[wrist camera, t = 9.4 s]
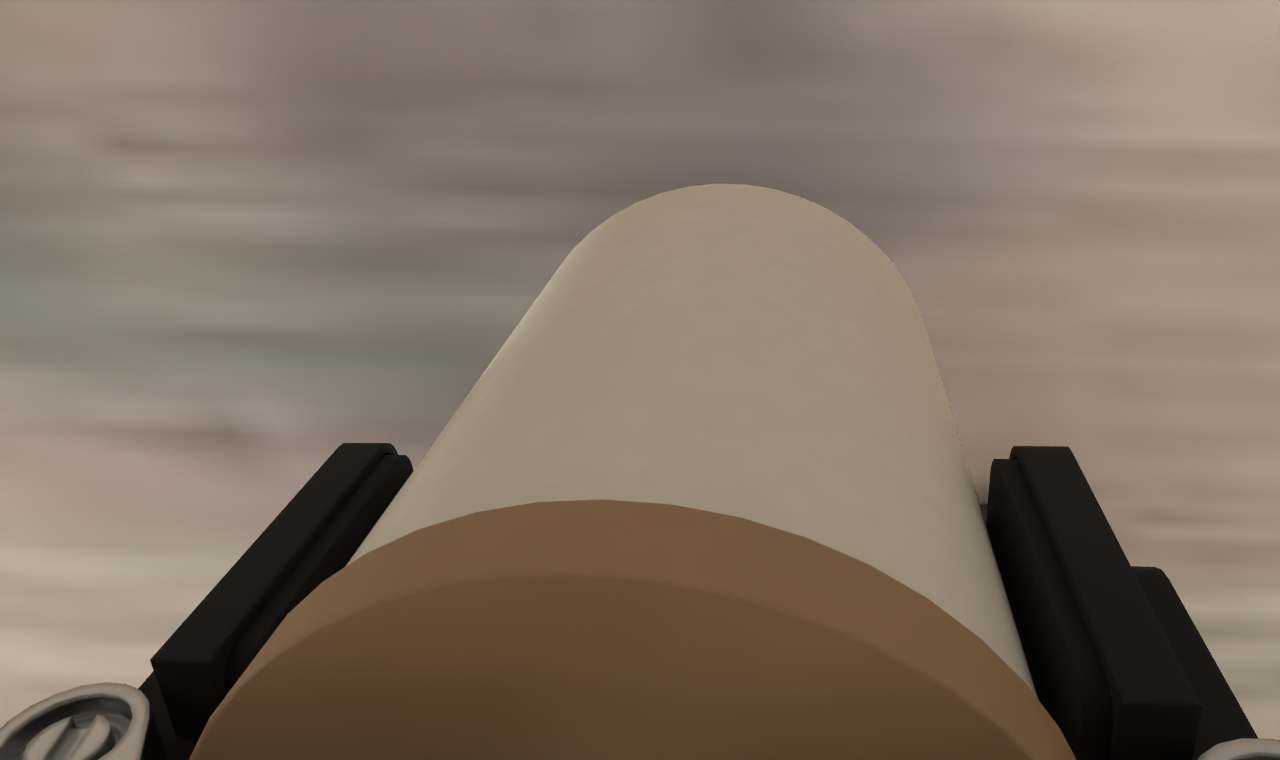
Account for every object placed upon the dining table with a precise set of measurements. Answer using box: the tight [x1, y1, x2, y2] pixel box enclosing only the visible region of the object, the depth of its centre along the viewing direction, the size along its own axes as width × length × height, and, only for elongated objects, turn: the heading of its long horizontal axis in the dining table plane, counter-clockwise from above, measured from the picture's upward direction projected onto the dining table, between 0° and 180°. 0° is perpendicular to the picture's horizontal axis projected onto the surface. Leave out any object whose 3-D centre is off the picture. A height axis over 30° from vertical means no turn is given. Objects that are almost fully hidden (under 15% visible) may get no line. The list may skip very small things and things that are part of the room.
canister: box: [189, 184, 1076, 760], centre depth 11 cm, size 7×7×10 cm
